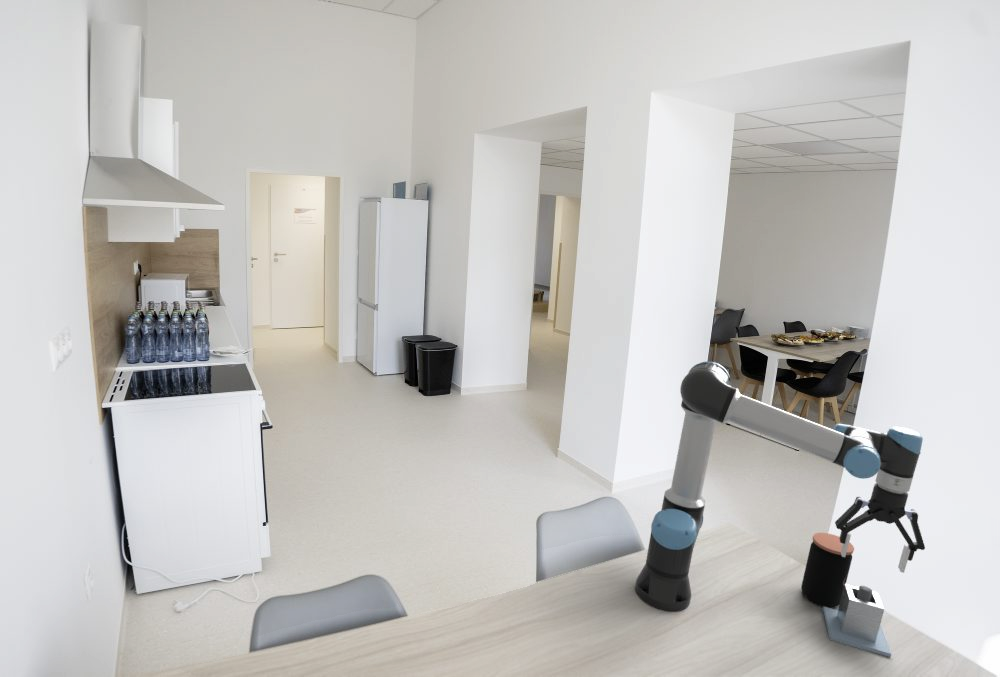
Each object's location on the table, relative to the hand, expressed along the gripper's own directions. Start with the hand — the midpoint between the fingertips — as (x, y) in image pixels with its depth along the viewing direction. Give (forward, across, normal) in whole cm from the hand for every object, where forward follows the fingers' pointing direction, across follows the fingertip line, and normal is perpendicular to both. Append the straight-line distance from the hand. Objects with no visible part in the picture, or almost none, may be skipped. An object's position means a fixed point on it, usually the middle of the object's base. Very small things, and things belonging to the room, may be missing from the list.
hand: (871, 562), depth 163 cm
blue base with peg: (+21, 0, 0) cm, 21 cm away
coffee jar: (+21, -6, +13) cm, 26 cm away
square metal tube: (+20, 0, 0) cm, 20 cm away
